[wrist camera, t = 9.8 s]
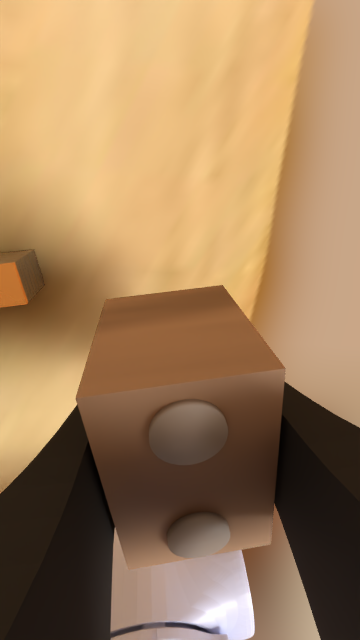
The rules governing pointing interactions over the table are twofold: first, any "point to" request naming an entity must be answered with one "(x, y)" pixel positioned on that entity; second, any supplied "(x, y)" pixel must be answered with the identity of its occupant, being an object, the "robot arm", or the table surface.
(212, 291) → the link block
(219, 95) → the table surface
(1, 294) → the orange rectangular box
